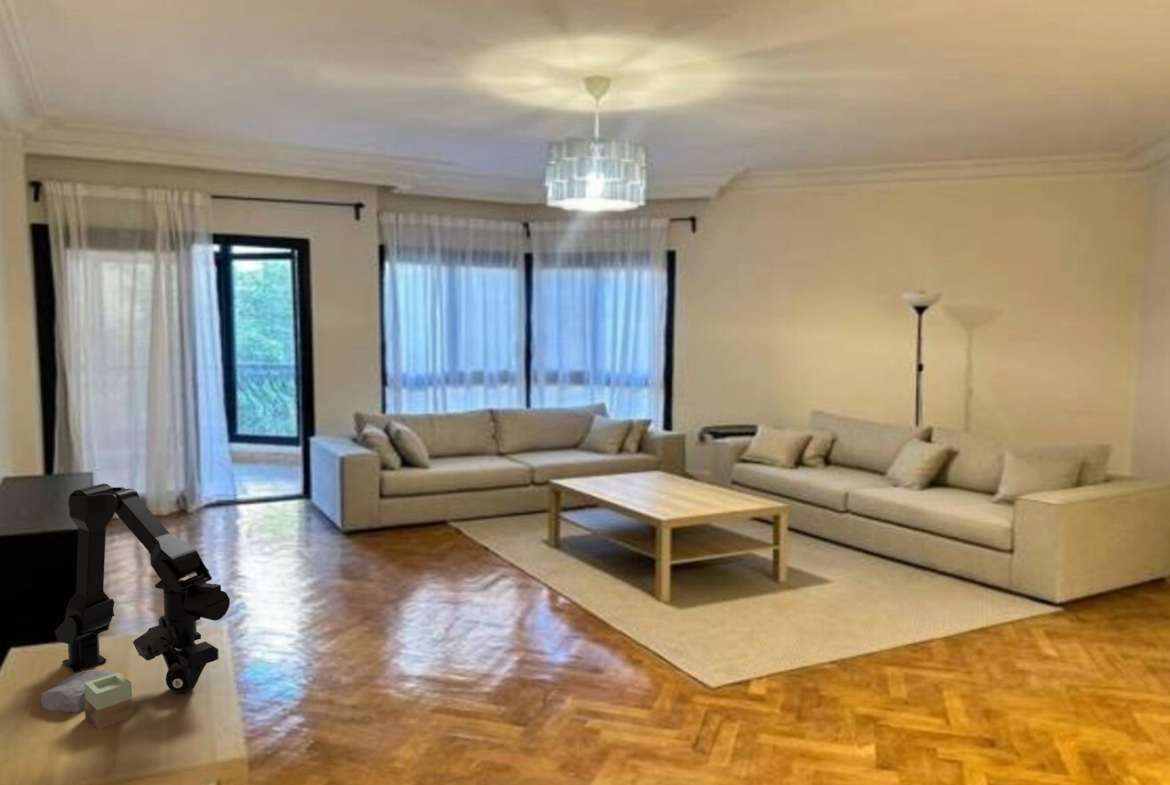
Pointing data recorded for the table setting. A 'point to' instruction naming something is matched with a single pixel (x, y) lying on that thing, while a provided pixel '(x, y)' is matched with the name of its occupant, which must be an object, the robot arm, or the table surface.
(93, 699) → the tower cap
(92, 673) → the stone block
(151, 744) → the table surface
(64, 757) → the table surface
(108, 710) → the tower base
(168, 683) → the billiard ball
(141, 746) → the table surface
